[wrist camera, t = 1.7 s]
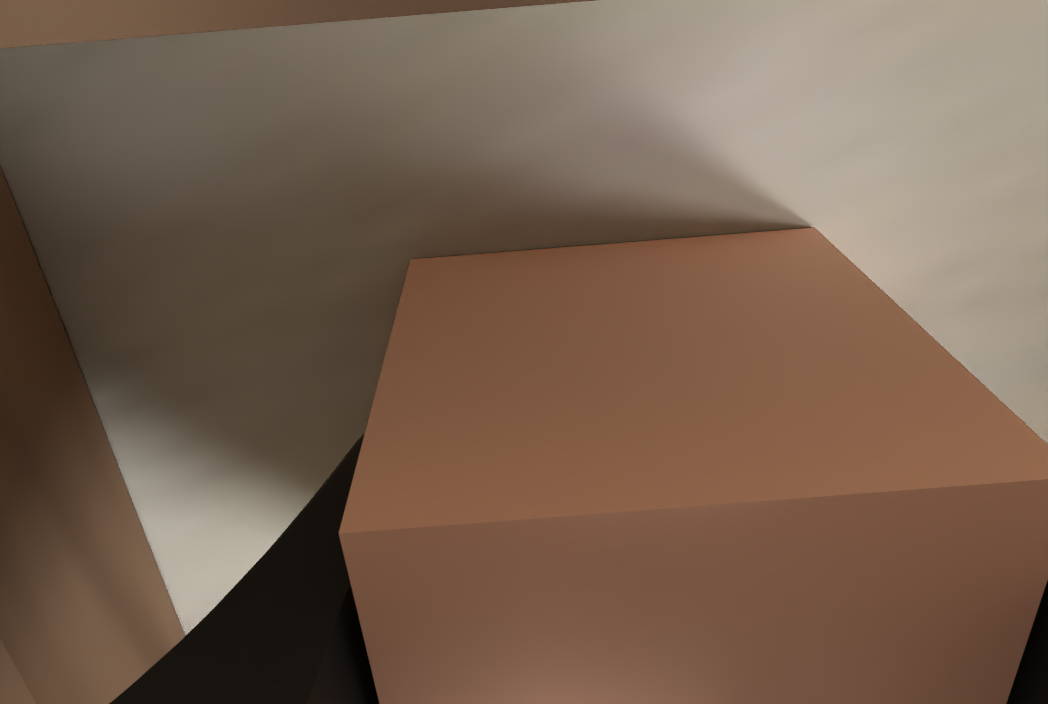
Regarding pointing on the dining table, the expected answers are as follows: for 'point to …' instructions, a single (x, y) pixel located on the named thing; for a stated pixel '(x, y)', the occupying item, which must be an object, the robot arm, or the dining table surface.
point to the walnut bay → (93, 408)
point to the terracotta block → (687, 487)
